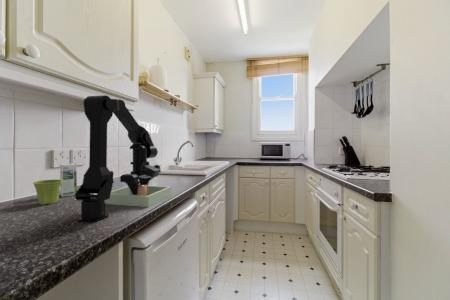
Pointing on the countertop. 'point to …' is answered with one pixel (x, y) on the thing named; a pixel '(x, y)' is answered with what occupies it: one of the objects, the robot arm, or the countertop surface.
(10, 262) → the countertop surface
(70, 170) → the syrup box
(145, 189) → the seedling pot
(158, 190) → the green square tray
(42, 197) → the plant pot
